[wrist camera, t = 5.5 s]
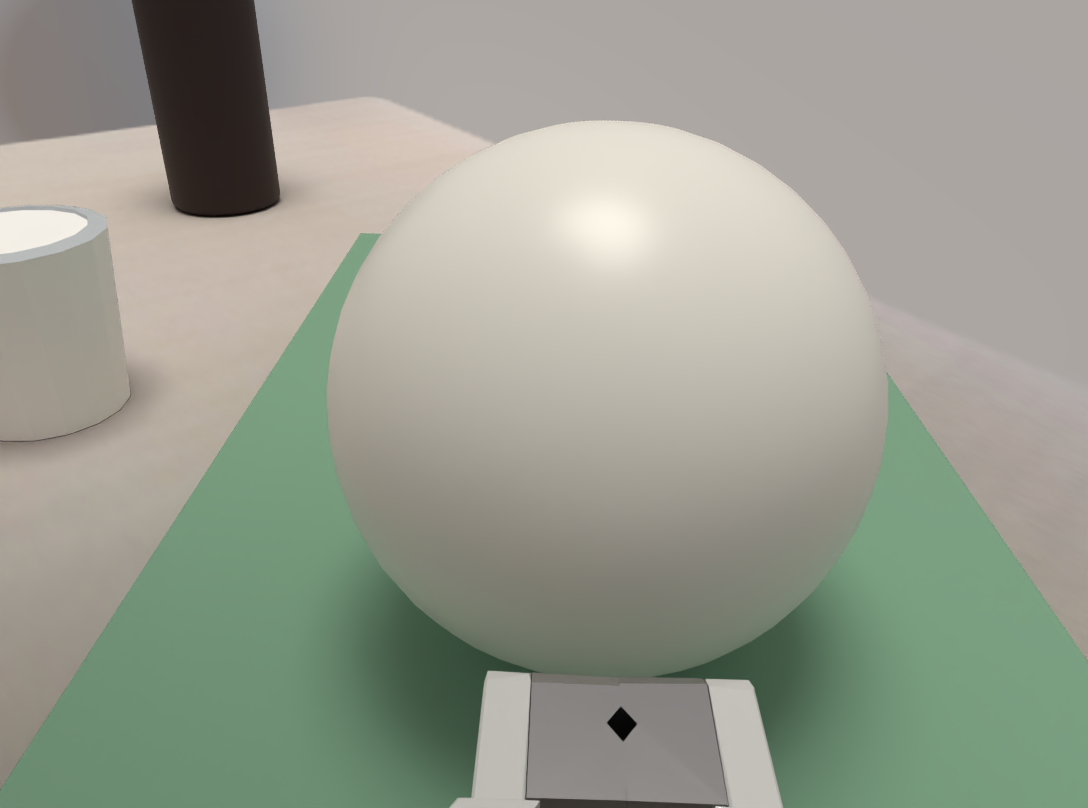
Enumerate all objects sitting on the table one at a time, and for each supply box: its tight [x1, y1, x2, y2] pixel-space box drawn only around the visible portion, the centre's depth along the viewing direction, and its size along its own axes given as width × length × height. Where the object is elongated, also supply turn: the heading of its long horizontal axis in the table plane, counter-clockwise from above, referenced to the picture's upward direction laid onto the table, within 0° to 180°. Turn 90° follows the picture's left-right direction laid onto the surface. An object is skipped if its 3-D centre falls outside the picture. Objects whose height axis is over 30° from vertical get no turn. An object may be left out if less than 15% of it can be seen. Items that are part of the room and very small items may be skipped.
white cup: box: [0, 205, 131, 441], centre depth 32 cm, size 7×7×7 cm
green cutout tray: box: [0, 233, 1088, 808], centre depth 27 cm, size 32×20×4 cm, turn 179°
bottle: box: [132, 0, 280, 216], centre depth 52 cm, size 7×7×20 cm
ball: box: [326, 121, 888, 678], centre depth 16 cm, size 10×10×10 cm
